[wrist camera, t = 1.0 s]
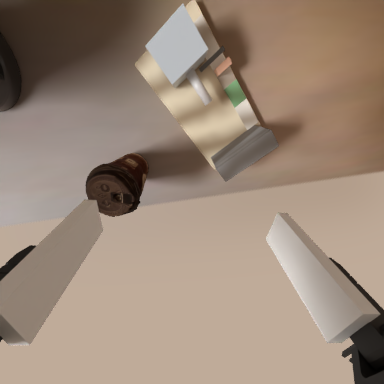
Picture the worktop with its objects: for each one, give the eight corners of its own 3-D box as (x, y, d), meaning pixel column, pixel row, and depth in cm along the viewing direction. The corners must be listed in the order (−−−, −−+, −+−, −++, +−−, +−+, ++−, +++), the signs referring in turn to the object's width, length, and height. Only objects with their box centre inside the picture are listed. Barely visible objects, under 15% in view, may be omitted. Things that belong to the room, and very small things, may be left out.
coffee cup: (162, 169, 35) (150, 200, 24) (138, 192, 38) (117, 229, 26) (130, 139, 32) (99, 158, 21) (106, 166, 35) (66, 196, 23)
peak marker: (213, 70, 26) (215, 68, 24) (226, 59, 25) (228, 56, 24) (217, 76, 26) (218, 75, 25) (229, 65, 26) (232, 63, 24)
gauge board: (136, 66, 26) (117, 51, 19) (193, 2, 23) (196, -45, 16) (214, 168, 35) (220, 185, 28) (263, 133, 32) (285, 141, 25)
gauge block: (154, 58, 25) (145, 46, 20) (200, 8, 22) (204, -22, 17) (193, 114, 29) (194, 116, 23) (236, 77, 26) (248, 70, 21)
